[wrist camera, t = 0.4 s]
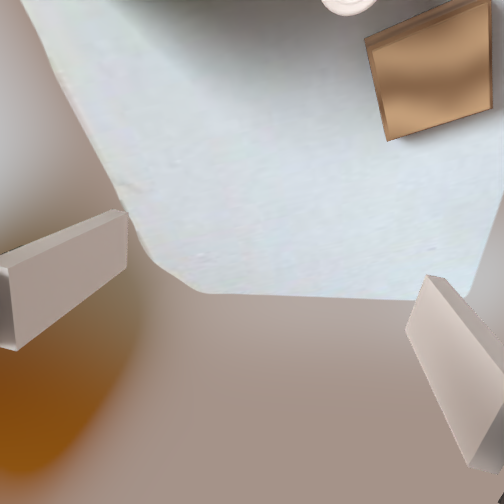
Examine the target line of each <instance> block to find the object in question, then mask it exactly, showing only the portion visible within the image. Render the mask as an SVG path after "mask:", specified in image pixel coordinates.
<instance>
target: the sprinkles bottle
mask: <svg viewBox="0 0 504 504" xmlns="http://www.w3.org/2000/svg"><path fill="white" fill-rule="evenodd" d="M321 1H322V2H323V4H324V5H325V6H326V7H327V8H328V9H329V10H330V11H331V12H333V13H335V14H338V15H341V16H353V15H356V14H359V13H361V12H364V11H365V10H367V9H368V8H369V7H371V6H372V5H373V4H374V3H375V2H376V1H377V0H321Z"/></svg>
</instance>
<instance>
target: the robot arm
mask: <svg viewBox="0 0 504 504" xmlns="http://www.w3.org/2000/svg"><path fill="white" fill-rule="evenodd" d="M127 240H128V212H124V211H119V210H114V209H112V210H109V211H107V212H104V213H102V214H99V215H97V216H95V217H92V218H90V219H87V220H85V221H83V222H80V223H78V224H75V225H73V226H70V227H68V228H65V229H63V230H60V231H58V232H56V233H53V234H51V235H48V236H46V237H44V238H41V239H39V240H36V241H34V242H31V243H29V244H26V245H22V246H19V247H17V248H15V249H12V250H10V251H9V252H5V253H2V254H0V347H2V348H6V349H10V350H14V351H18V350H19V349H20V348H21V347H23V346H24V345H25V344H27V343H28V342H29V341H31V340H32V339H33V338H35V337H36V336H37V335H38V334H40V333H41V332H42V331H44V330H45V329H46V328H47V327H49V326H50V325H52V324H53V323H54V322H56V321H57V320H58V319H60V318H61V317H62V316H64V315H65V314H66V313H68V312H69V311H70V310H72V309H73V308H74V307H75V306H77V305H78V304H79V303H80V302H82V301H83V300H85V299H86V298H87V297H89V296H90V295H91V294H92V293H94V292H95V291H97V290H98V289H99V288H101V287H102V286H103V285H104V284H106V283H107V282H108V281H110V280H111V279H112V278H114V277H115V276H116V275H118V274H119V273H120V272H122V271H123V270H124V269H126V268H127ZM405 332H406V334H407V336H408V338H409V340H410V342H411V345H412V347H413V349H414V351H415V353H416V356H417V358H418V360H419V362H420V364H421V367H422V369H423V371H424V373H425V375H426V377H427V380H428V382H429V384H430V386H431V388H432V390H433V393H434V395H435V397H436V399H437V401H438V403H439V405H440V408H441V410H442V412H443V414H444V416H445V419H446V421H447V423H448V425H449V427H450V430H451V432H452V434H453V436H454V438H455V440H456V443H457V444H458V447H459V449H460V451H461V453H462V456H463V457H464V460H465V462H466V464H467V466H468V467H470V468H474V469H478V470H482V471H486V472H490V473H493V474H498V473H499V472H500V470H501V469H502V467H503V465H504V345H503V343H501V341H500V340H499V339H498V338H497V337H496V336H495V334H494V333H493V332H492V331H491V330H490V329H489V328H488V326H487V325H486V324H485V323H484V322H483V321H482V320H481V319H480V318H479V316H478V315H477V314H476V313H475V312H474V311H473V310H472V308H471V307H470V306H469V305H468V304H467V303H466V302H465V301H464V299H463V298H462V297H461V296H460V295H459V294H458V293H457V291H456V290H455V289H454V288H453V287H452V286H451V285H450V284H449V282H448V281H447V280H446V279H445V278H441V277H436V276H431V275H426V276H425V278H424V281H423V284H422V286H421V289H420V291H419V294H418V297H417V299H416V302H415V305H414V307H413V310H412V312H411V315H410V318H409V320H408V323H407V326H406V328H405ZM498 503H500V504H504V493H503V495H502V496H501V498H500V499H499V501H498Z"/></svg>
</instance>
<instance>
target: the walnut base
mask: <svg viewBox="0 0 504 504" xmlns="http://www.w3.org/2000/svg"><path fill="white" fill-rule="evenodd" d="M364 40H365V45H366V49H367V54H368V59H369V63H370V68H371V72H372V77H373V82H374V86H375V91H376V95H377V100H378V105H379V109H380V114H381V118H382V123H383V128H384V132H385V136H386V140H387V142H388V141H391V140H394V139H397V138H400V137H403V136H407V135H410V134H413V133H416V132H419V131H423V130H426V129H429V128H432V127H435V126H438V125H442V124H445V123H448V122H451V121H454V120H457V119H461V118H464V117H467V116H470V115H473V114H476V113H480V112H483V111H486V110H489V109H492V108H493V89H492V14H491V0H451V1H449V2H447V3H444V4H442V5H440V6H437V7H435V8H433V9H431V10H428V11H426V12H424V13H422V14H419V15H417V16H415V17H412V18H410V19H408V20H406V21H403V22H401V23H399V24H397V25H394V26H392V27H390V28H387V29H385V30H383V31H381V32H378V33H376V34H374V35H372V36H369V37H367V38H365V39H364Z"/></svg>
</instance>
